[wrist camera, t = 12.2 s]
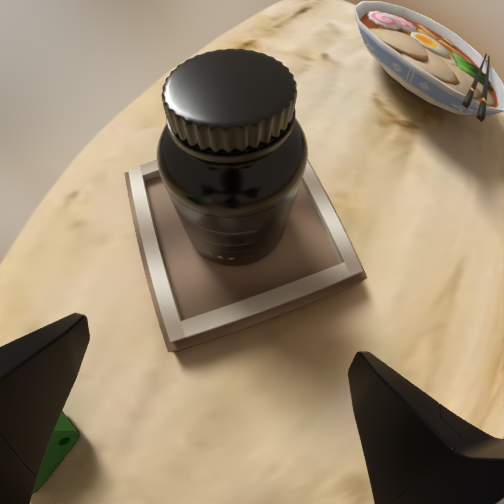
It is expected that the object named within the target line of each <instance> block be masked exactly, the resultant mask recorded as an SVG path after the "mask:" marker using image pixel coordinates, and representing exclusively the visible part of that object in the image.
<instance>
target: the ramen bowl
mask: <svg viewBox="0 0 504 504" xmlns="http://www.w3.org/2000/svg"><path fill="white" fill-rule="evenodd" d="M353 8H354V12H355V16H356V20H357V23H358V26H359V30H360V33H361V35H362V38H363V40H364V43H365V45H366V47H367V49H368V50H369V52H370V54H371V55H372V56H373V57H374V58H375V59H376V60H377V61H378V63H379V64H380V65H381V66H382V67H383V68H384V69H385V71H386V72H387V73H388V74H389V75H390V76H392V77H393V78H394V79H395V80H396V81H398V82H399V83H400V84H401V85H403V86H404V87H405V88H406V89H407V90H409V91H411V92H412V93H414V94H416V95H417V96H419V97H421V98H422V99H424V100H425V101H427V102H428V103H431V104H433V105H436V106H438V107H440V108H443V109H445V110H447V111H450V112H453V113H455V114H464V115H476V116H477V117H476V118H477V119H479V120H480V121H481V122H482V121H483V119H484V118H485V115H493V114H496V113H500V112H503V111H504V84H503V82H502V81H501V79H500V78H499V76H498V75H497V73H496V71H495V70H494V69H493V68H492V67H491V66H490V65H489V58H490V57H488V62H487V61H486V60H485V58H486V55H487V54H486V55H485V57H484V58H483V57H482V56H481V55H480V54H479V53H478V52H477V51H476V50H475V49H474V48H472V47H471V46H470V45H469V44H467V43H466V42H465V41H464V40H462V39H461V38H460V37H459V36H457V35H456V34H455V33H454V32H452V31H450V30H449V29H447V28H445V27H444V26H442V25H440V24H439V23H437V22H435V21H434V20H432V19H430V18H428V17H426V16H424V15H421V14H419V13H417V12H414V11H412V10H410V9H407V8H405V7H402V6H398V5H393V4H389V3H385V2H381V1H362V2H360V3H359V4H357V5H356V6H355V7H353Z"/></svg>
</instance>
